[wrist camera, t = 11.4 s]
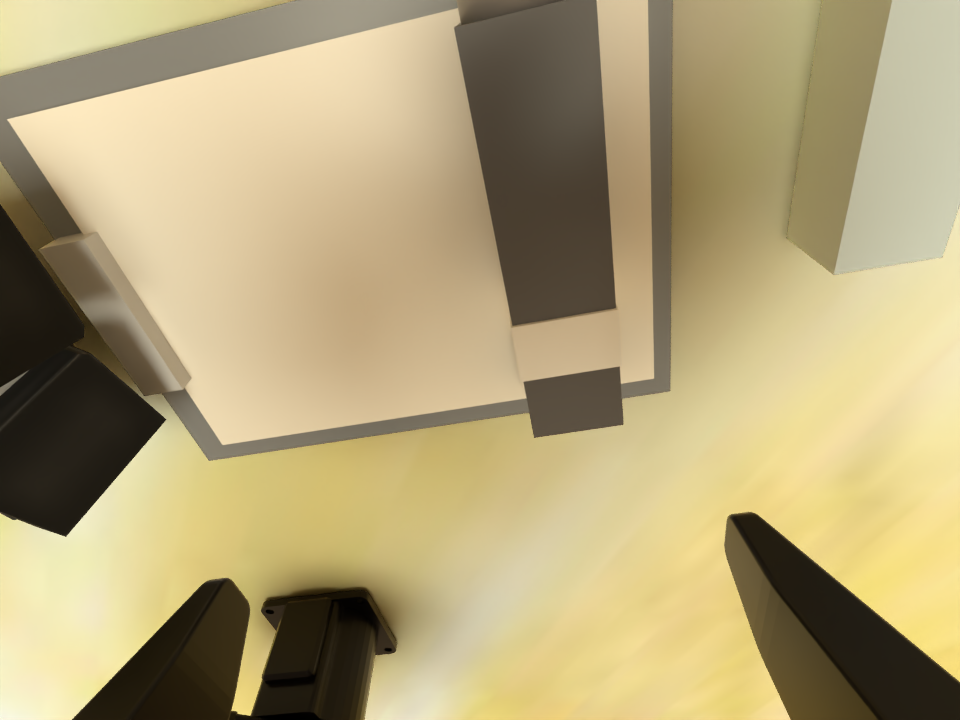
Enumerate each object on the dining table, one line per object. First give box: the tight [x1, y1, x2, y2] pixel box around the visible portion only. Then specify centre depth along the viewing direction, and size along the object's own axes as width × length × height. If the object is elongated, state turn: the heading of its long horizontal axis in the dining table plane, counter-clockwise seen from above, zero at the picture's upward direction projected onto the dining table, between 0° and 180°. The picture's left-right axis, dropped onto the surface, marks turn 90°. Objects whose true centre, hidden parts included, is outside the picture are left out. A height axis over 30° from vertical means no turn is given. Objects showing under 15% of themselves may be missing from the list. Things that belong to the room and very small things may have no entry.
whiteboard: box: [0, 0, 673, 461], centre depth 18 cm, size 20×15×2 cm
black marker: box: [454, 0, 623, 438], centre depth 15 cm, size 14×3×3 cm, turn 12°
